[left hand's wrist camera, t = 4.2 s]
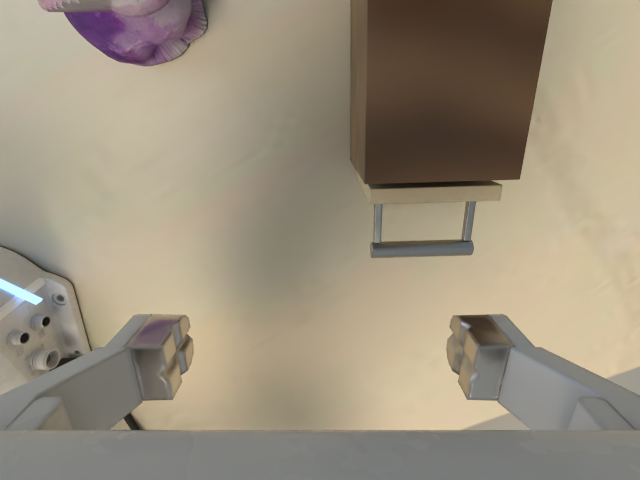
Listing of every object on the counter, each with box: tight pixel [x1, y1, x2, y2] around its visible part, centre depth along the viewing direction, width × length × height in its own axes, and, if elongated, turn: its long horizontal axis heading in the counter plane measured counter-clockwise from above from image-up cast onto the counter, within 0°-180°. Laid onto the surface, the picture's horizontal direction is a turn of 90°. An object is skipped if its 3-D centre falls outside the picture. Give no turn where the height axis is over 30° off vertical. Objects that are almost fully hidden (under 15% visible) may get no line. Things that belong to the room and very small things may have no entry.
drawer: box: [357, 172, 502, 258], centre depth 28 cm, size 24×10×10 cm, turn 2°
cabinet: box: [350, 0, 552, 184], centre depth 26 cm, size 19×11×12 cm, turn 2°
